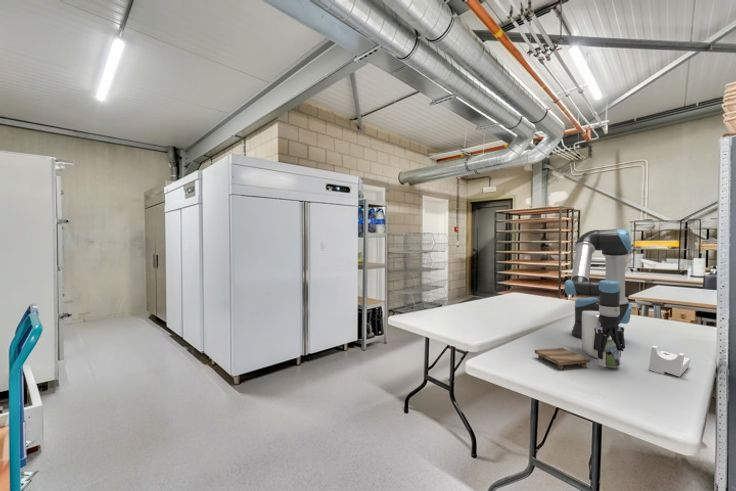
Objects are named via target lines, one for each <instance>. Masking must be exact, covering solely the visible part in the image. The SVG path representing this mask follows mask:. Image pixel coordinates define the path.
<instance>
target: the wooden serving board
mask: <svg viewBox="0 0 736 491" xmlns="http://www.w3.org/2000/svg"><path fill="white" fill-rule="evenodd" d="M534 354H535V355H537V356H538V360H539V359H540V361H545V359H546V360H548V361H550V362H552V363H554V364H556V369H557V370H560V371H561V370H563V371H564V366H568V365H577V364H578V365H579V367H580V368H584V369H585V368H587V364H588V363H589V364H590V363H591V359H590V358H588V357H586V356H584V355H581V354H580V353H579V354H578V353H576V352H574V351H572V350H570V349H568V348H565V347H556V348H555V347H554V348H553V347H552V348H542V349H540V348H539V349H534Z"/></svg>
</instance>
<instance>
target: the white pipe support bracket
mask: <svg viewBox="0 0 736 491" xmlns="http://www.w3.org/2000/svg"><path fill="white" fill-rule="evenodd" d="M650 350H651V351H650V359H649V366H648V370H649V371H651V372H655V373H658V374H661V375H665V373H667V374H671V375H673V376H677V377H678V378H679V377H681V376H682V375H683V373H684V372H685V371H686V370H687V369H688V368H689V367H690V362H691V358H689V357H686V356H685V353H683V352H679V353H678V354H675V353H671V352H667V351H665V350H659V346H658V345H654V344H653V346H651V349H650Z"/></svg>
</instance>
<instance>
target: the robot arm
mask: <svg viewBox="0 0 736 491" xmlns="http://www.w3.org/2000/svg"><path fill="white" fill-rule="evenodd" d="M632 247H633V246H632V241H631V236H630V232H629V230H628V229H619V228H616V229H615V228H614V229H613V228H612V229H593V230H589V231H587V232H585V233H584V234H582V235H581V236H579V238H578V239H577V240H576V242H575V244H574V251H575V256H574V261H573V267H572V272H571V279H567V280H565V283H564V292H565V293H566V294H567V295H569V296H578V297H579V298H576V299H575V301H574V324H573V327H572V329H571V336H573V338H577V339H581V340H582V311H599V313H600V315H599V322H600V323H601V326H600V328H595V329H594V331H595V338H594V347H593V349H594V350H597V351H598V358H597V359H598V366H601V367H602V368H606V366H605V352H604V349H605V346H606V343H607V340H608V338H609V337H610V336H611V338H612V340H613V341H614V342H615V344H616V348H617V353H618V359H619V364H620V365H621V357H622V352H623V351H624V349H626V342H625V327H624V326H620V325H622V324H625V325H627V324H629V323H630V321H631V315H632V310H633V309H632V308H633V305H632V303H629V302H630V301H629V299H628V298H626V256H628V255H629V252H632V250H633V249H632ZM595 251H600V252H601V255H603V257H604V261H605V264H604V265H605V279H603V280H600V281H591V280H590V276H591V275H590V274H591V266H592V259H593V254H594V253H595ZM580 296H581V297H580ZM618 315H619V316H618ZM618 325H619V326H618ZM605 335H606V336H605Z"/></svg>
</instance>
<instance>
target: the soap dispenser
mask: <svg viewBox="0 0 736 491" xmlns="http://www.w3.org/2000/svg"><path fill="white" fill-rule="evenodd" d="M599 315H600V313H599V311H582V339H581V350H582V351H583V352H585V353H586V354H588V356H591V357H593V358H595V359H599V358H598V351H597V350H594V349H593V347H594V338H595V331H594V329H595V328H600V326H601V323H600V322H599ZM618 316H619V315H618ZM618 326H620V324H619V325H618ZM605 336H606V335H605ZM608 339H611V340H612V338H611V336H610V337H609V338H608Z"/></svg>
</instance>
